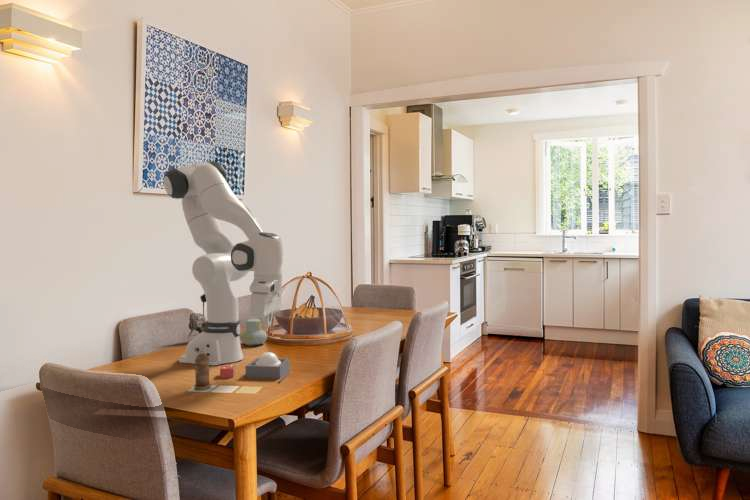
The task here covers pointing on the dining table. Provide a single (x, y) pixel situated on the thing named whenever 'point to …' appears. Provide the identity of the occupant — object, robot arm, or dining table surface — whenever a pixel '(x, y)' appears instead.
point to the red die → (227, 371)
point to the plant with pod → (197, 319)
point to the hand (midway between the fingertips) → (266, 326)
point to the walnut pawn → (202, 372)
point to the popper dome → (268, 360)
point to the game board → (230, 389)
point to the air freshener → (253, 333)
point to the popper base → (268, 370)
